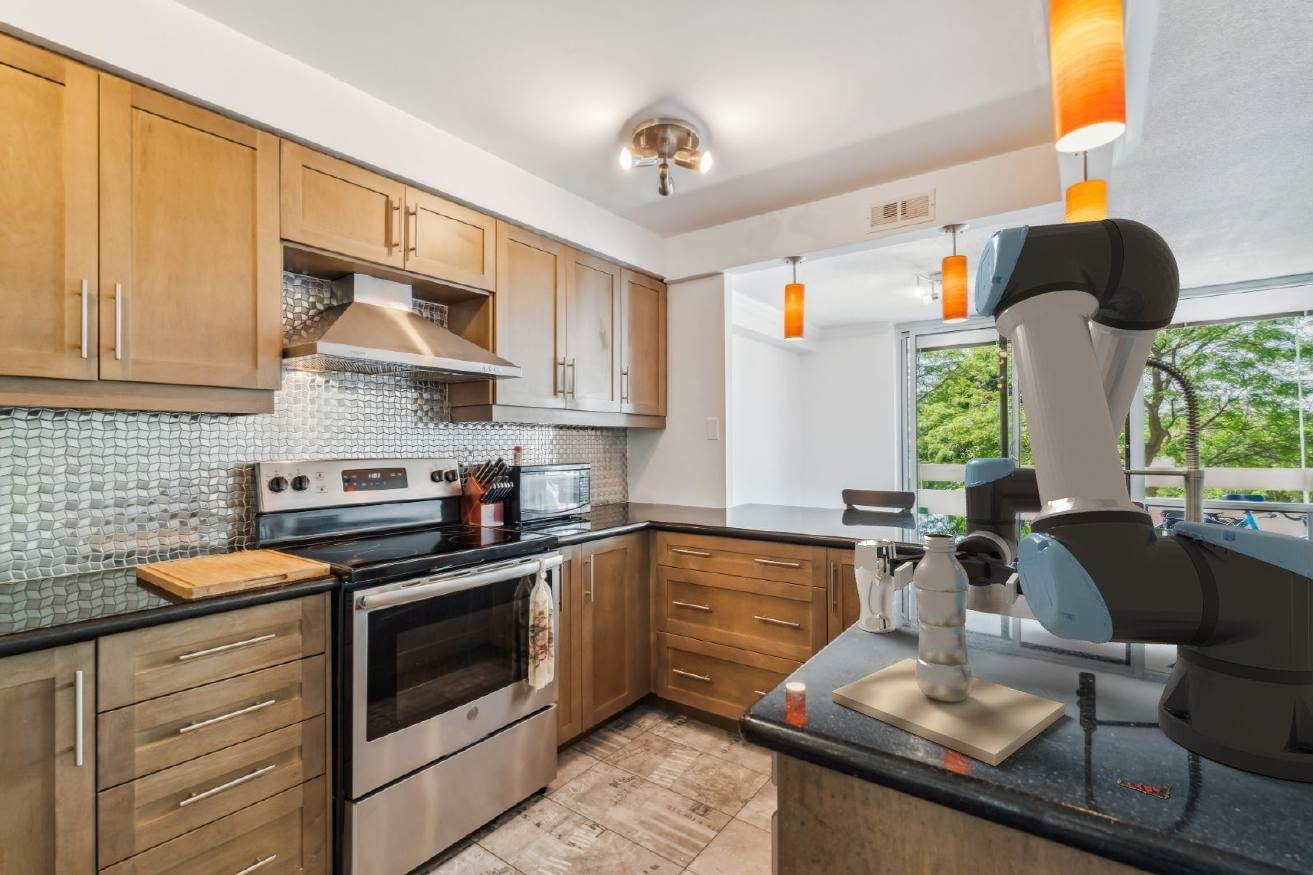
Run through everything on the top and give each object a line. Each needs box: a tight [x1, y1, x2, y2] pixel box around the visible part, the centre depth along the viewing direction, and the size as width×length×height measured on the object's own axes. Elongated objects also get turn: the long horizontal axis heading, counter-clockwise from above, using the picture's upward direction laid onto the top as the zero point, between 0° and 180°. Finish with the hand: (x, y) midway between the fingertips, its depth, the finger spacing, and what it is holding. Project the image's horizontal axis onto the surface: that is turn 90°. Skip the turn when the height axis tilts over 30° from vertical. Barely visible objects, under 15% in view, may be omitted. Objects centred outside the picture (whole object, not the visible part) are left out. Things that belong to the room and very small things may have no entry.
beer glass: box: [854, 538, 897, 634], centre depth 106 cm, size 7×7×15 cm
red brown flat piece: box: [1116, 775, 1173, 799], centre depth 59 cm, size 5×5×1 cm
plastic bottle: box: [912, 533, 973, 702], centre depth 75 cm, size 6×7×20 cm
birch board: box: [831, 657, 1065, 767], centre depth 75 cm, size 20×18×1 cm
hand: (950, 586), depth 80 cm, fingers open, 13 cm apart
